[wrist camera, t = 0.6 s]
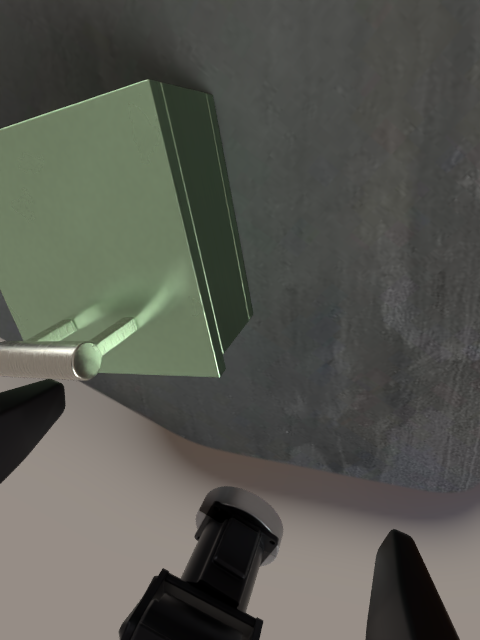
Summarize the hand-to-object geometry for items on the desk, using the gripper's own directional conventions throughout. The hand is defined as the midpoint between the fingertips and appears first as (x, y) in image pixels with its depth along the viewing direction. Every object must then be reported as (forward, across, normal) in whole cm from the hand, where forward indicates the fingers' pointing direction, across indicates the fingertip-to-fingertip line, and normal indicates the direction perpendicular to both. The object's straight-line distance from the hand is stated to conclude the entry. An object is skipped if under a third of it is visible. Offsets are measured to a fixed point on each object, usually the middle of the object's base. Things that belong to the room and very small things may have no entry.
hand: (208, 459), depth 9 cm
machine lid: (+8, +10, 0) cm, 13 cm away
